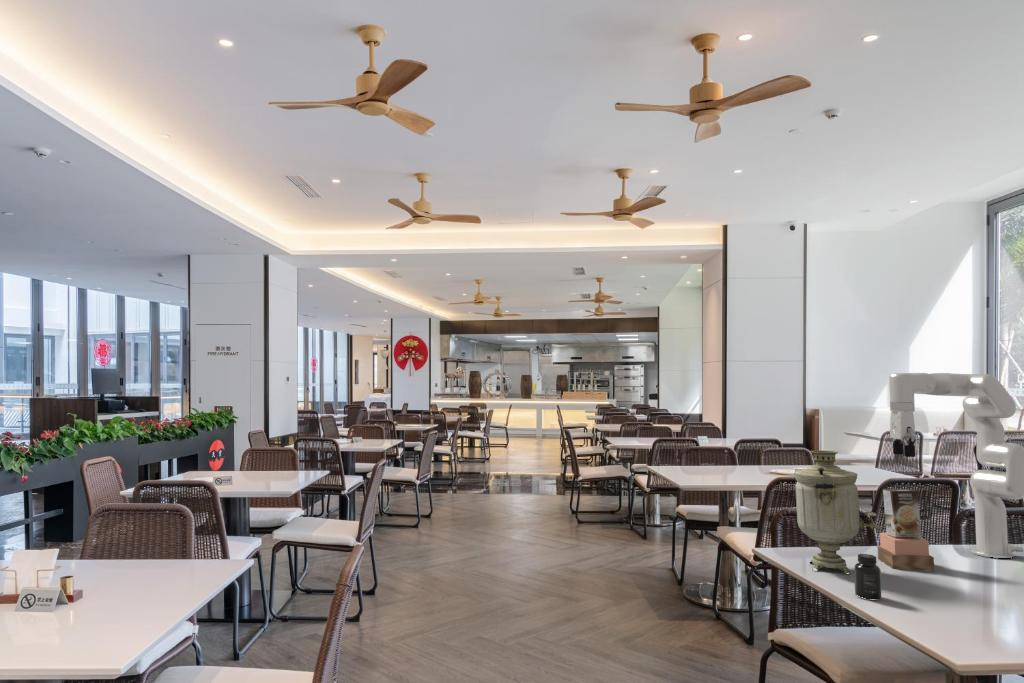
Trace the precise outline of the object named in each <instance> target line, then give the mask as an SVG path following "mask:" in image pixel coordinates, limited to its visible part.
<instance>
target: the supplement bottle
mask: <svg viewBox="0 0 1024 683" xmlns="http://www.w3.org/2000/svg"><path fill="white" fill-rule="evenodd" d="M877 563H878V561H877V556H876V555H873V554H869V553H858V554H857V563H855V565H854V567H853V568H854V572H853V573H854V594H855V596H856V595H858V596H860V597H863V598H866V599H880V600H881V599H882V575H881V574H882V572H881V568H880V567H879V565H877ZM866 599H865V600H866Z"/></svg>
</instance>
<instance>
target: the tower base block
mask: <svg viewBox="0 0 1024 683" xmlns="http://www.w3.org/2000/svg"><path fill="white" fill-rule="evenodd" d="M877 559H878V561H880V560H881V561H880V562H882V563H883V562H884V563H883V564H885V565H886V566H888V567H889V566H890V568H891V569H893V570H906V569H911V570H910V571H924V570H929V571H928V572H935V561H934V560H935V558H934V556H932V555H930V554H929V556H916V555H895V554H893V553H891V552H889V551H887V550H885V549H884V548H882V547H880V545H877Z"/></svg>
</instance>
